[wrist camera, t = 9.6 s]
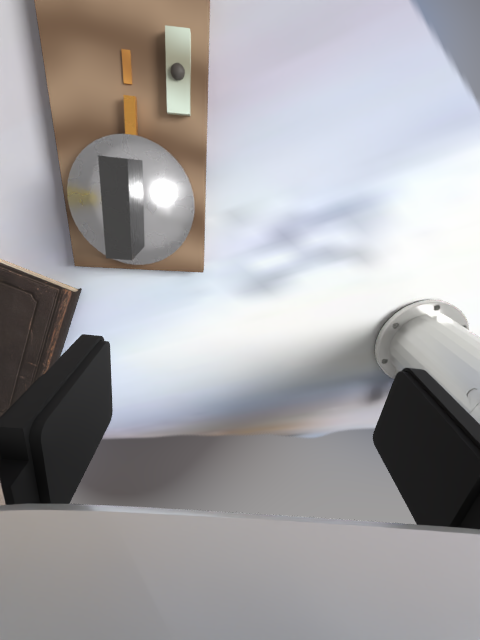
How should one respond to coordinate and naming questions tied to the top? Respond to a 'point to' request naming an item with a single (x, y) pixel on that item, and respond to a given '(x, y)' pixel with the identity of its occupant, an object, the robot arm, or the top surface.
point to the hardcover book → (30, 327)
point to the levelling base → (130, 93)
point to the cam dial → (130, 196)
